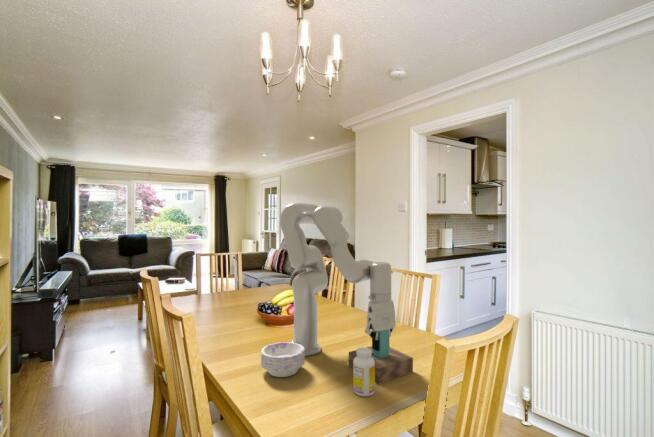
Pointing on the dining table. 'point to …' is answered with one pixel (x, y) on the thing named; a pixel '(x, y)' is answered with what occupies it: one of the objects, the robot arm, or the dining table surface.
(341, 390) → the dining table surface
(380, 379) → the socket block
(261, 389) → the dining table surface
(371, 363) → the supplement bottle
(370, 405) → the dining table surface
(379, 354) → the peg
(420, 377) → the dining table surface
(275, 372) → the paper bowls
